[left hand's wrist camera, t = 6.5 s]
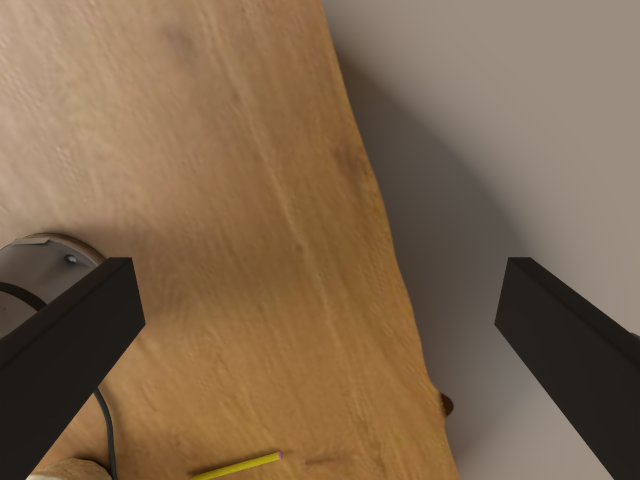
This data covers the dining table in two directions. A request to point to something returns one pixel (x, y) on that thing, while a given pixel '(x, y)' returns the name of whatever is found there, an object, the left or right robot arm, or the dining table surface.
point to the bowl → (71, 471)
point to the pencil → (238, 466)
